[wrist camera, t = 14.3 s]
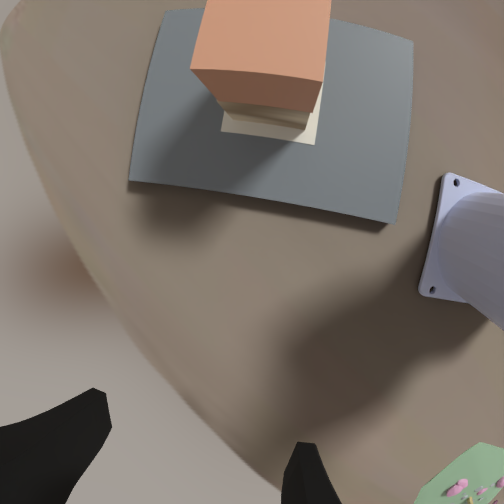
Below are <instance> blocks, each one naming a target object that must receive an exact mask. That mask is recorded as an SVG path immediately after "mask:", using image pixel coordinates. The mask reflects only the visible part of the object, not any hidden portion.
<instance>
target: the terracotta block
mask: <svg viewBox="0 0 504 504" xmlns="http://www.w3.org/2000/svg"><path fill="white" fill-rule="evenodd" d="M330 10H331V0H207V4H206V7H205V11H204V14H203V18H202V21H201V25H200V29H199V33H198V36H197V40H196V44H195V49H194V53H193V57H192V61H191V66H190V70H191V71H192V72H193V73H194V74H195V75H196V76H197V77H198V79H199V80H200V81H201V82H202V83H203V84H204V85H205V86H206V87H207V89H208V90H209V91H210V92H211V93H212V94H213V95H214V97H215V98H216V99H217V100H218V101H222V102H235V103H245V104H254V105H263V106H271V107H278V108H285V109H291V110H298V111H304V112H309V113H313V110H314V107H315V104H316V101H317V98H318V95H319V92H320V89H321V86H322V83H323V77H324V69H325V60H326V51H327V41H328V31H329V21H330Z"/></svg>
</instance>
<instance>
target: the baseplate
mask: <svg viewBox="0 0 504 504" xmlns="http://www.w3.org/2000/svg"><path fill="white" fill-rule="evenodd" d="M204 11H205V8H197V9H180V10H169V11H166V12H165V15H164V18H163V21H162V24H161V27H160V30H159V34H158V37H157V41H156V44H155V48H154V51H153V55H152V59H151V62H150V66H149V70H148V74H147V79H146V83H145V87H144V92H143V96H142V101H141V106H140V111H139V116H138V121H137V127H136V132H135V138H134V145H133V151H132V158H131V165H130V173H129V180H131V181H140V182H149V183H158V184H166V185H174V186H182V187H190V188H197V189H204V190H211V191H218V192H225V193H231V194H238V195H244V196H251V197H257V198H263V199H269V200H274V201H280V202H286V203H291V204H297V205H302V206H308V207H313V208H318V209H323V210H328V211H333V212H338V213H343V214H348V215H353V216H358V217H362V218H367V219H372V220H376V221H381V222H385V223H389V224H394V225H395V223H396V218H397V213H398V208H399V203H400V197H401V191H402V185H403V179H404V172H405V165H406V158H407V150H408V141H409V131H410V121H411V108H412V90H413V41H410V40H408V39H405V38H402V37H399V36H396V35H393V34H390V33H386V32H383V31H380V30H376V29H373V28H369V27H365V26H361V25H357V24H353V23H349V22H345V21H340V20H335V19H330V21H329V31H328V41H327V51H326V60H325V69H324V77H323V83H322V86H321V89H320V92H319V95H318V98H317V101H316V104H315V107H314V110H313V113H310V116H309V119H308V122H307V126H306V129H305V130H302V129H296V128H290V127H284V126H277V125H270V124H263V123H255V122H247V121H238V120H233V119H232V118H231V117H230V116H229V115H228V114H227V113H226V111H225V110H224V109H223V108H222V107H221V106H220V105H219V104H218V102H217V99H216V98H215V97H214V95H213V94H212V93H211V92H210V91H209V90H208V89H207V87H206V86H205V85H204V84H203V83H202V82H201V81H200V80H199V79H198V77H197V76H196V75H195V74H194V73H193V72H192V71H191V70H190V66H191V61H192V57H193V53H194V49H195V44H196V40H197V36H198V33H199V29H200V25H201V21H202V18H203V14H204Z"/></svg>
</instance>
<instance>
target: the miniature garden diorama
mask: <svg viewBox="0 0 504 504" xmlns="http://www.w3.org/2000/svg"><path fill="white" fill-rule="evenodd" d="M503 486H504V449H503V448H500V447H496V446H493V445H489V444H486V443H481V442H480V443H478V444H476V445H474V446H473V447H471V448H469V449H468V450H466V451H465V452H464V453H462V454H461V455H460V456H459V457H458V458H456V459H455V460H454V461H453V462H452V463H450V464H449V465H448V466H447V467H446V468H444V469H443V470H442V471H441V472H440V473H438V474H437V475H436V476H435V477H434V478H432V479H431V480H430V481H429V482H428V483H427V484H425V485H424V486H423V487H422V488H421V490H420V492H419V494H418V497H417V499H416V501H415V502H414V504H488V503H489V502H490V501H491V500H492V499H493V498H494V497H495V496H496V494H497V493H498V492H499V491H500V490H501V489H502V487H503ZM497 502H498V500H496V501H494V503H493V504H496V503H497Z"/></svg>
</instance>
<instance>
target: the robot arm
mask: <svg viewBox="0 0 504 504" xmlns="http://www.w3.org/2000/svg"><path fill="white" fill-rule="evenodd" d="M454 179H455V180H456V181H457V185H456V186H454V182H453V181H454ZM432 286H434V289H433V291H431V292H429V290H430V288H431V287H432ZM418 291H419V293H420V294H421V295H423V296H426V297H432V298H438V299H445V300H451V301H457V302H464V303H469V304H470V305H472V306H473V307H474V308H476V309H477V310H478V311H480V312H481V313H482V314H483V315H485V316H486V317H487V318H488V319H490V320H491V321H492V322H493V323H495V324H496V325H497V326H498V327H500V328H501V329H502V330H503V331H504V194H503V193H501V192H499V191H496V190H494V189H492V188H489V187H487V186H484V185H482V184H479V183H477V182H474V181H472V180H469V179H467V178H464V177H461V176H458V175H456V174H453V173H445V174H444V175H443V176H442V181H441V188H440V194H439V200H438V206H437V211H436V216H435V222H434V226H433V231H432V236H431V240H430V244H429V249H428V253H427V257H426V261H425V264H424V268H423V272H422V276H421V279H420V283H419V286H418ZM111 428H112V424H111V419H110V414H109V409H108V403H107V397H106V393H104V392H102V391H100V390H97V389H95V388H91V389H89V390H87V391H86V392H84V393H82V394H80V395H78V396H76V397H74V398H72V399H70V400H68V401H66V402H65V403H63V404H61V405H59V406H57V407H54V408H52V409H50V410H48V411H46V412H44V413H41V414H39V415H37V416H34V417H32V418H29V419H26V420H24V421H21V422H18V423H14V424H10V425H7V426H2V427H0V504H65V503H66V501H67V499H68V497H69V495H70V493H71V491H72V489H73V488H74V486H75V485H76V483H77V482H78V480H79V479H80V477H81V476H82V475H83V473H84V472H85V470H86V469H87V468H88V466H89V465H90V463H91V462H92V460H93V459H94V458H95V456H96V455H97V453H98V452H99V451H100V449H101V448H102V446H103V444H104V442H105V440H106V438H107V436H108V435H109V432H110V430H111ZM281 504H342V503H341V501H340V500H339V498H338V496H337V494H336V492H335V490H334V488H333V486H332V484H331V482H330V480H329V477H328V475H327V473H326V471H325V468H324V466H323V463H322V461H321V458H320V455H319V452H318V450H317V446H316V445H315V444H314V443H304V442H297V444H296V446H295V449H294V451H293V453H292V456H291V458H290V460H289V463H288V465H287V467H286V469H285V471H284V478H283V485H282V493H281Z"/></svg>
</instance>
